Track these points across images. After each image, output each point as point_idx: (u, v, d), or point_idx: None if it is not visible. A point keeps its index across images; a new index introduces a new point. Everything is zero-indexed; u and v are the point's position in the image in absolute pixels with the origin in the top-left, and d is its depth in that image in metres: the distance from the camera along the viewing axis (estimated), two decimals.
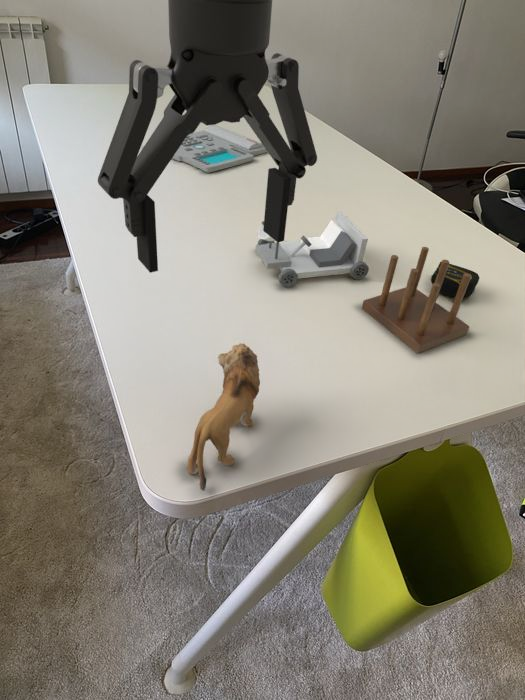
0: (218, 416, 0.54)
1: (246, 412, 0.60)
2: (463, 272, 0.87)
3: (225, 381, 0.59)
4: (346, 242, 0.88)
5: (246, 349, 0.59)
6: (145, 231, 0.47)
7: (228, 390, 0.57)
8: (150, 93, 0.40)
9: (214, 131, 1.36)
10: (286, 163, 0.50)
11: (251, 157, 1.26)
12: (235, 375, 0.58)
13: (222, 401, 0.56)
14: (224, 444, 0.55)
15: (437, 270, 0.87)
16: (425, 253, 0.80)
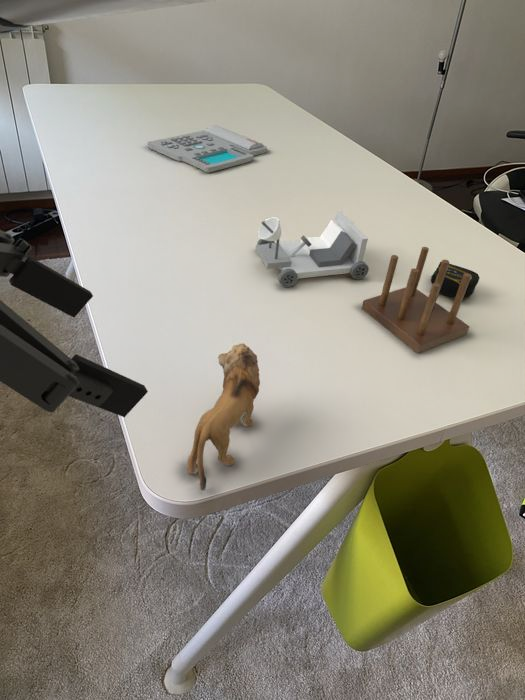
0: (218, 416, 0.54)
1: (246, 412, 0.60)
2: (463, 272, 0.87)
3: (225, 381, 0.59)
4: (346, 242, 0.88)
5: (246, 349, 0.59)
6: (104, 381, 0.38)
7: (228, 390, 0.57)
8: None
9: (214, 131, 1.36)
10: (15, 252, 0.44)
11: (251, 157, 1.26)
12: (235, 375, 0.58)
13: (222, 401, 0.56)
14: (224, 444, 0.55)
15: (437, 270, 0.87)
16: (425, 253, 0.80)
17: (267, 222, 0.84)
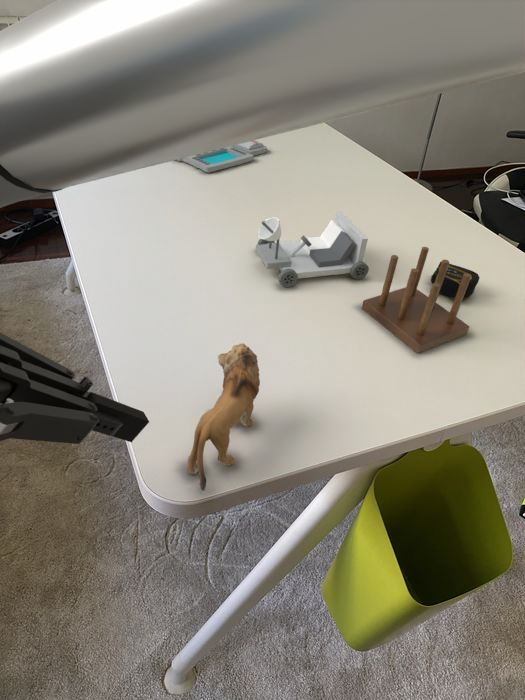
0: (218, 416, 0.54)
1: (246, 412, 0.60)
2: (463, 272, 0.87)
3: (225, 381, 0.59)
4: (346, 242, 0.88)
5: (246, 349, 0.59)
6: (116, 416, 0.49)
7: (228, 390, 0.57)
8: (19, 407, 0.38)
9: None
10: (71, 385, 0.47)
11: (251, 157, 1.26)
12: (235, 375, 0.58)
13: (222, 401, 0.56)
14: (224, 444, 0.55)
15: (437, 270, 0.87)
16: (425, 253, 0.80)
17: (267, 222, 0.84)
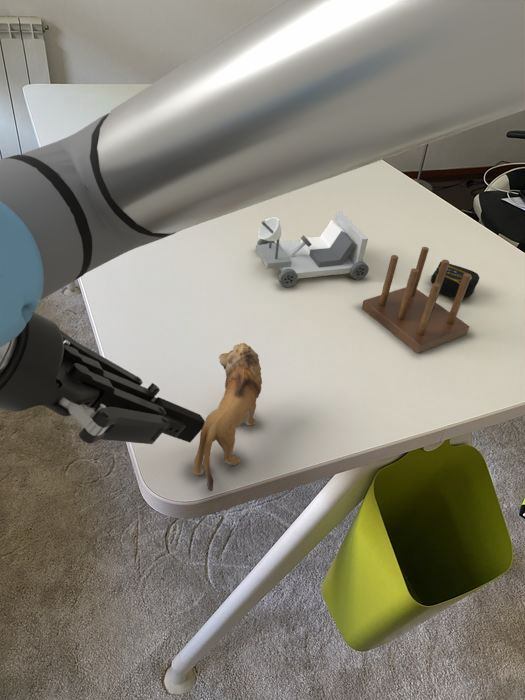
0: (224, 416, 0.54)
1: (249, 411, 0.60)
2: (463, 272, 0.87)
3: (228, 381, 0.59)
4: (346, 242, 0.88)
5: (248, 348, 0.59)
6: (179, 418, 0.54)
7: (232, 390, 0.57)
8: (110, 412, 0.42)
9: None
10: (142, 391, 0.51)
11: None
12: (238, 375, 0.58)
13: (227, 401, 0.56)
14: (230, 444, 0.55)
15: (437, 270, 0.87)
16: (425, 253, 0.80)
17: (267, 222, 0.84)
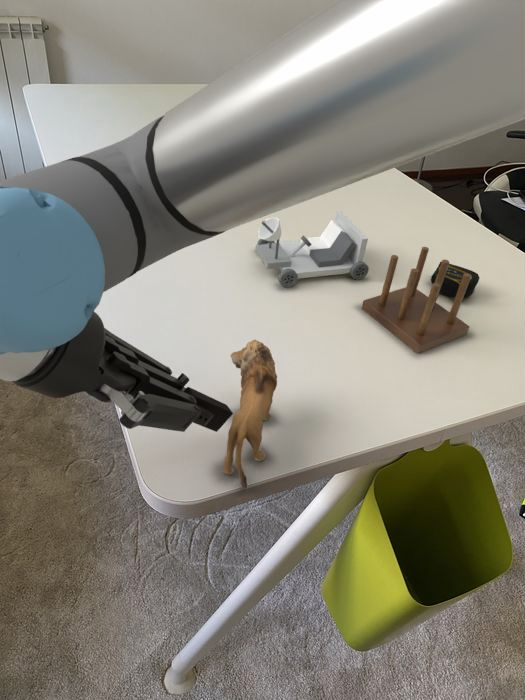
0: (252, 414, 0.55)
1: None
2: (463, 272, 0.87)
3: (244, 379, 0.59)
4: (346, 242, 0.88)
5: (261, 345, 0.60)
6: (207, 408, 0.55)
7: (252, 387, 0.58)
8: (149, 399, 0.44)
9: None
10: (173, 380, 0.53)
11: None
12: (256, 371, 0.58)
13: (250, 399, 0.57)
14: (259, 440, 0.56)
15: (437, 270, 0.87)
16: (425, 253, 0.80)
17: (267, 222, 0.84)
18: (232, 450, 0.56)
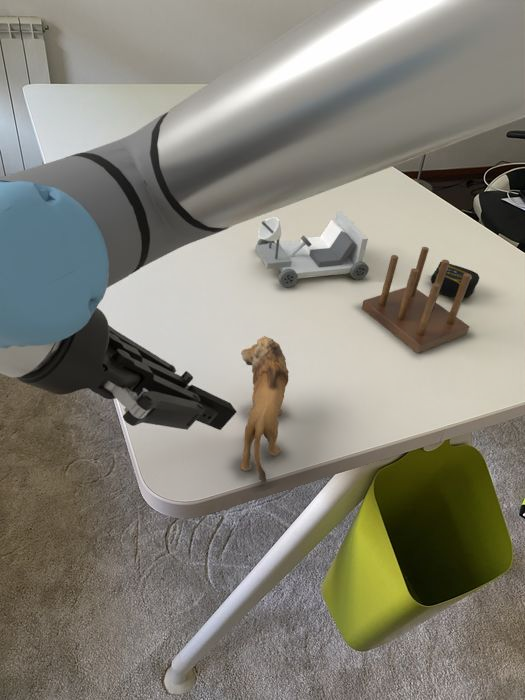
0: (268, 409, 0.55)
1: None
2: (463, 272, 0.87)
3: (257, 375, 0.60)
4: (346, 242, 0.88)
5: (271, 341, 0.61)
6: (211, 406, 0.55)
7: (265, 383, 0.59)
8: (152, 396, 0.44)
9: None
10: (177, 378, 0.53)
11: None
12: (269, 367, 0.59)
13: (264, 395, 0.57)
14: (275, 435, 0.57)
15: (437, 270, 0.87)
16: (425, 253, 0.80)
17: (267, 222, 0.84)
18: (249, 446, 0.56)
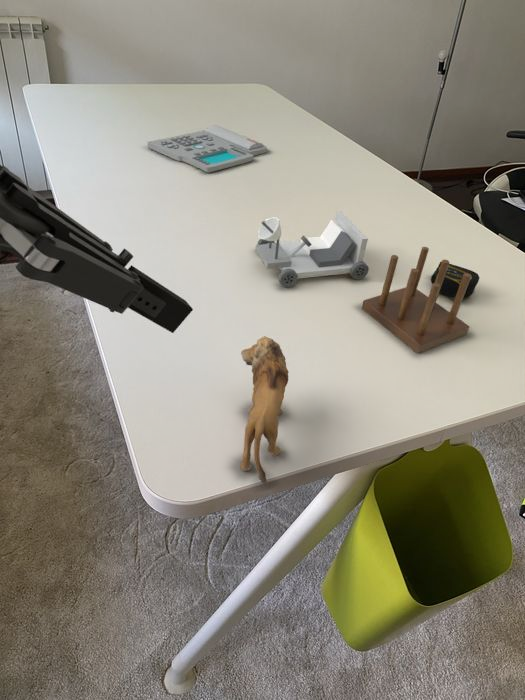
0: (268, 409, 0.55)
1: None
2: (463, 272, 0.87)
3: (257, 375, 0.60)
4: (346, 242, 0.88)
5: (271, 341, 0.61)
6: (158, 296, 0.44)
7: (265, 383, 0.59)
8: (60, 243, 0.32)
9: (214, 131, 1.36)
10: (110, 253, 0.41)
11: (251, 157, 1.26)
12: (269, 367, 0.59)
13: (264, 395, 0.57)
14: (275, 435, 0.57)
15: (437, 270, 0.87)
16: (425, 253, 0.80)
17: (267, 222, 0.84)
18: (249, 446, 0.56)
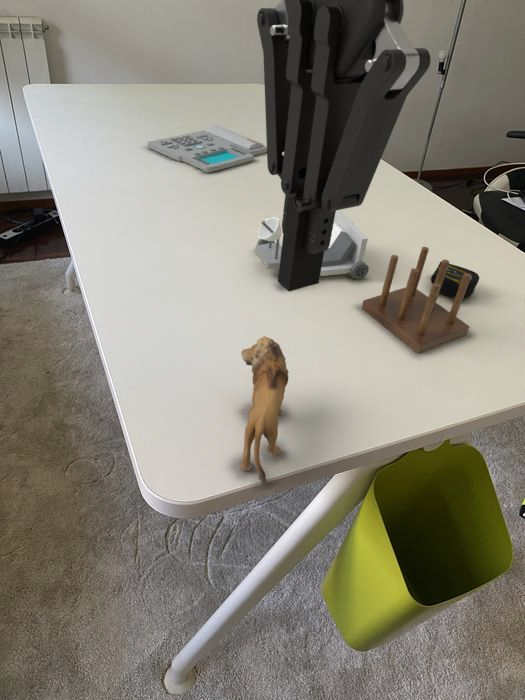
0: (268, 409, 0.55)
1: None
2: (463, 272, 0.87)
3: (257, 375, 0.60)
4: (346, 242, 0.88)
5: (271, 341, 0.61)
6: None
7: (265, 383, 0.59)
8: None
9: (214, 131, 1.36)
10: None
11: (251, 157, 1.26)
12: (269, 367, 0.59)
13: (264, 395, 0.57)
14: (275, 435, 0.57)
15: (437, 270, 0.87)
16: (425, 253, 0.80)
17: (267, 222, 0.84)
18: (249, 446, 0.56)
